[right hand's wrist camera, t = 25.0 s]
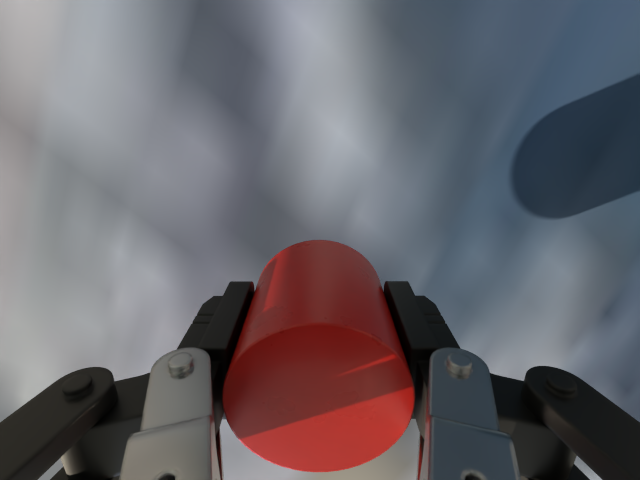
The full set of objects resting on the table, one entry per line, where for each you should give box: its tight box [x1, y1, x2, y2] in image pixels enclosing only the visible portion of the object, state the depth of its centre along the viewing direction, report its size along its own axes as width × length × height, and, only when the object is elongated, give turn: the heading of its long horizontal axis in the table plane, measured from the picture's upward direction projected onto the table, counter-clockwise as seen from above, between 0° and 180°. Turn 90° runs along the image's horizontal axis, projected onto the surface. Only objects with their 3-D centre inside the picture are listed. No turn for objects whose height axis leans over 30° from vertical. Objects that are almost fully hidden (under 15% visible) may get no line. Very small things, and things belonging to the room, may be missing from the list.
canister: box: [222, 240, 415, 472], centre depth 10 cm, size 4×4×5 cm
